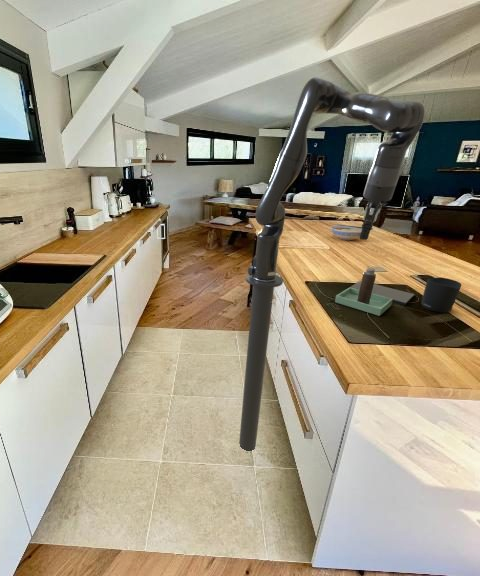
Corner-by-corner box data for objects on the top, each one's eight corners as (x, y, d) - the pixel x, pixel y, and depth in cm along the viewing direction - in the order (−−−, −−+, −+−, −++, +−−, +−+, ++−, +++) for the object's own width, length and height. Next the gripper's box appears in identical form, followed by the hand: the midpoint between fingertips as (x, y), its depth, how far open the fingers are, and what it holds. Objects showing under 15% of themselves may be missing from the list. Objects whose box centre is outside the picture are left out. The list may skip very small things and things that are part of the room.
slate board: (348, 289, 126) (349, 287, 126) (359, 282, 134) (360, 280, 134) (405, 305, 113) (405, 302, 113) (413, 296, 121) (414, 294, 120)
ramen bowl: (320, 238, 212) (322, 226, 209) (335, 233, 226) (337, 222, 223) (358, 245, 195) (361, 232, 192) (372, 239, 210) (375, 227, 206)
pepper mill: (355, 302, 114) (362, 269, 109) (359, 299, 116) (366, 267, 112) (366, 305, 111) (374, 272, 106) (370, 302, 114) (378, 269, 109)
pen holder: (416, 300, 117) (424, 275, 113) (447, 304, 114) (456, 279, 110) (423, 310, 109) (431, 284, 105) (456, 315, 106) (466, 288, 102)
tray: (334, 302, 115) (336, 295, 114) (348, 293, 123) (349, 287, 122) (379, 316, 105) (381, 309, 104) (391, 305, 113) (392, 299, 112)
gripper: (370, 175, 96) (356, 224, 105) (363, 186, 86) (348, 239, 95) (398, 178, 93) (380, 229, 102) (394, 189, 83) (375, 245, 92)
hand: (365, 234), depth 99 cm, fingers open, 8 cm apart
